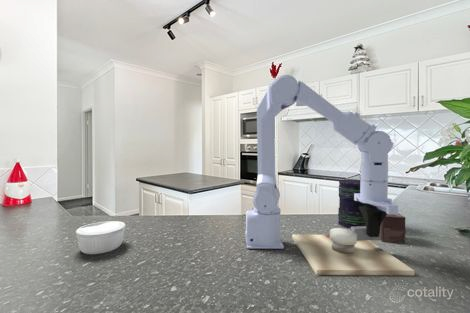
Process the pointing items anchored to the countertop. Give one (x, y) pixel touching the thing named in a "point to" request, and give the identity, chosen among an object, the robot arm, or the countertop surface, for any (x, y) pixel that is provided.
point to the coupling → (350, 235)
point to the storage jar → (349, 204)
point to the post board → (348, 257)
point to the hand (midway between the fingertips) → (372, 236)
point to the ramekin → (100, 237)
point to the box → (393, 228)
